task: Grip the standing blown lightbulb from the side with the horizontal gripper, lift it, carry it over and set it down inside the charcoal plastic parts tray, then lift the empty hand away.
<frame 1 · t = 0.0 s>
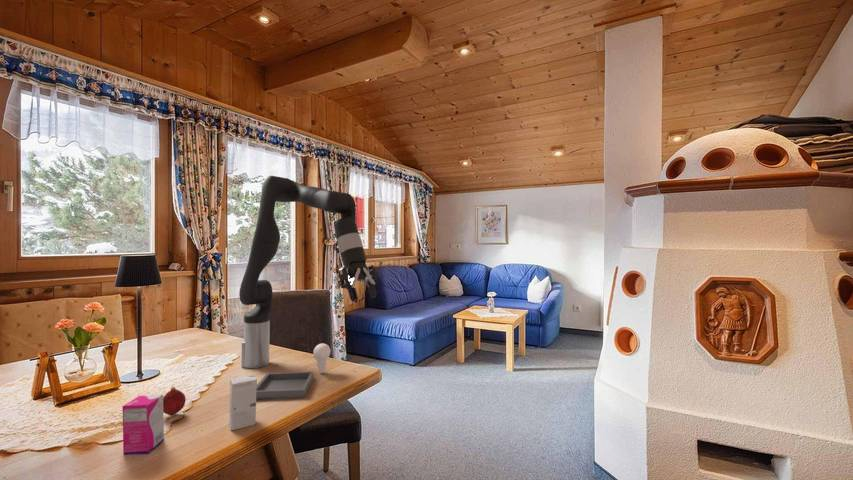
hand: (364, 298, 113), 31 cm above the table, tool tilted 20°, fingers open, 8 cm apart
lightbulb: (321, 373, 135), on the table
supplement box: (143, 448, 86), on the table
skincare box: (242, 425, 97), on the table
onion: (173, 416, 102), on the table
parts tray: (284, 388, 121), on the table
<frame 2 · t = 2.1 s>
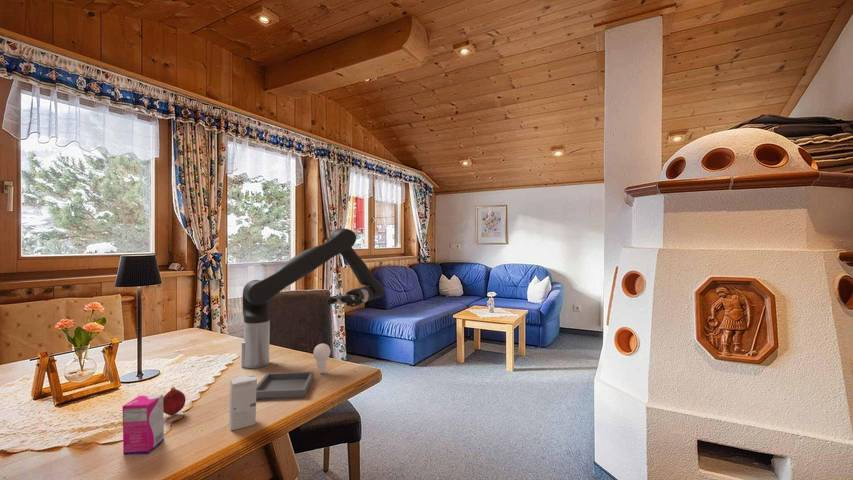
hand: (337, 302, 147), 24 cm above the table, tool horizontal, fingers open, 8 cm apart
nothing on the table moved.
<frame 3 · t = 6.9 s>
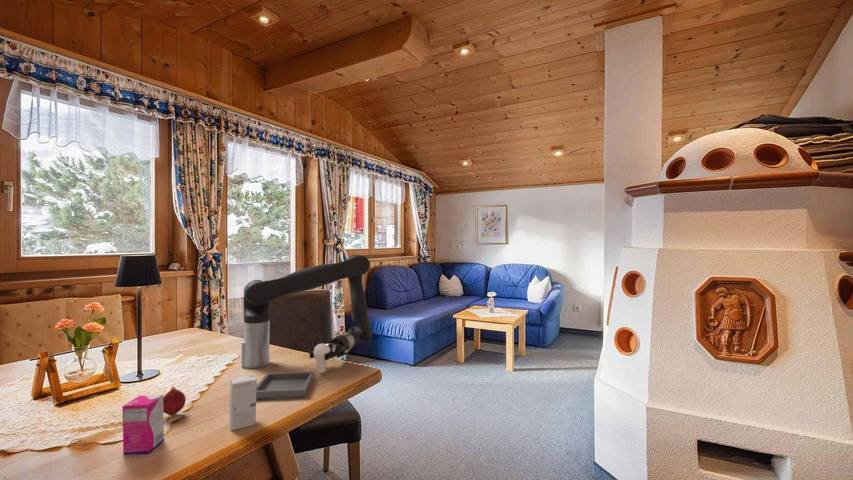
hand: (318, 356, 133), 7 cm above the table, tool horizontal, fingers closed on lightbulb, 5 cm apart
lightbulb: (321, 373, 135), on the table, touching gripper
everything else where it was.
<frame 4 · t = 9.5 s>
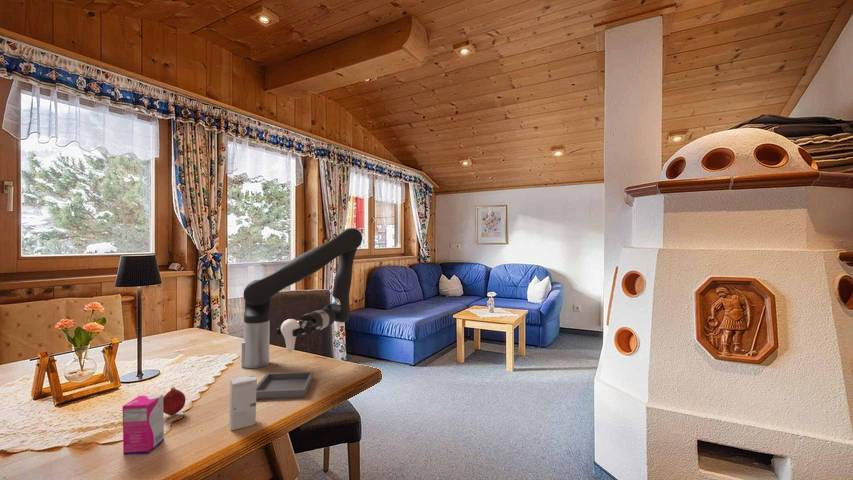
hand: (285, 332, 120), 19 cm above the table, tool horizontal, fingers closed on lightbulb, 5 cm apart
lightbulb: (290, 352, 123), point 12 cm above the table, touching gripper
everything else where it was.
when the fingers open (8 cm above the table, at t = 12.2 s): lightbulb stays where it is, resting on parts tray.
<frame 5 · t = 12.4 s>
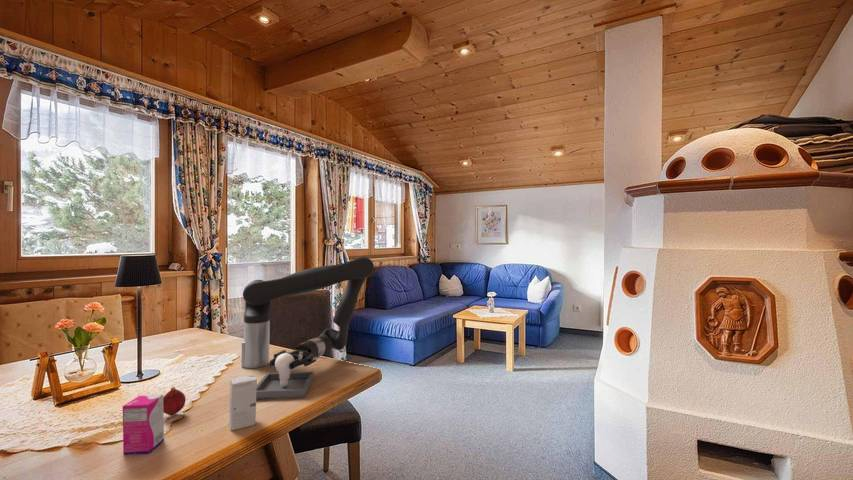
hand: (280, 364, 119), 9 cm above the table, tool horizontal, fingers open, 7 cm apart
lightbulb: (284, 387, 121), resting on parts tray
everything else where it was.
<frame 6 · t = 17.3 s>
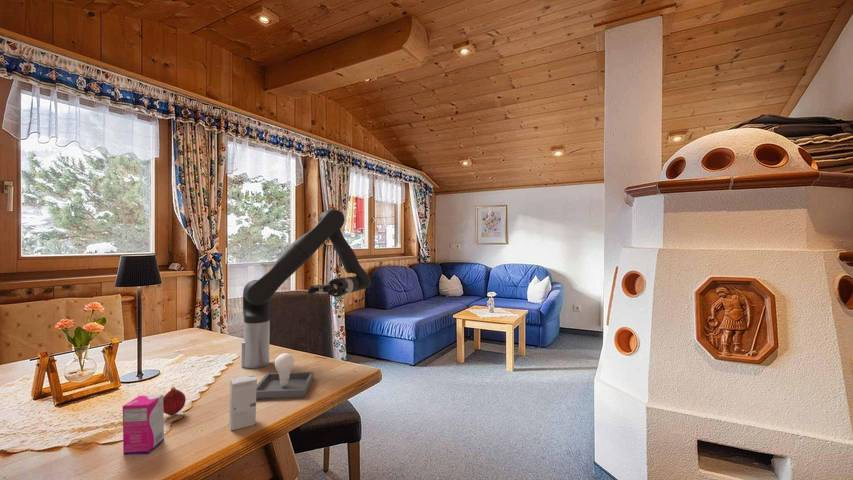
hand: (318, 291, 137), 30 cm above the table, tool horizontal, fingers open, 8 cm apart
nothing on the table moved.
at the end: lightbulb inside the target area on the parts tray (0.2 cm from its centre), point 0.4 cm above the parts tray's base; the gripper is holding nothing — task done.
